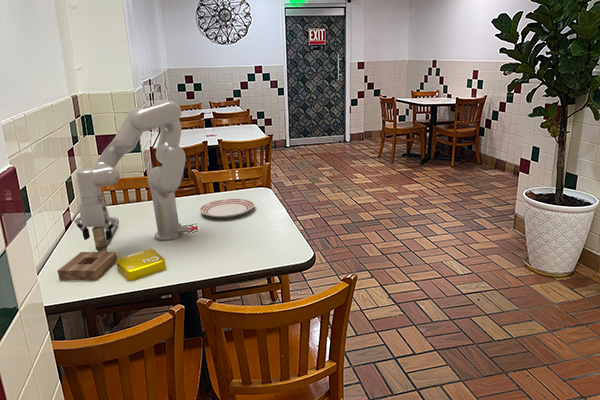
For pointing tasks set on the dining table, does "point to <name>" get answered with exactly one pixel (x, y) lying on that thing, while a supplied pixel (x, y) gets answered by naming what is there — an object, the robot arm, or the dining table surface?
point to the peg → (99, 239)
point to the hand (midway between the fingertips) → (98, 238)
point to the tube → (113, 227)
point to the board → (87, 266)
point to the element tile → (140, 264)
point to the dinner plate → (226, 208)
